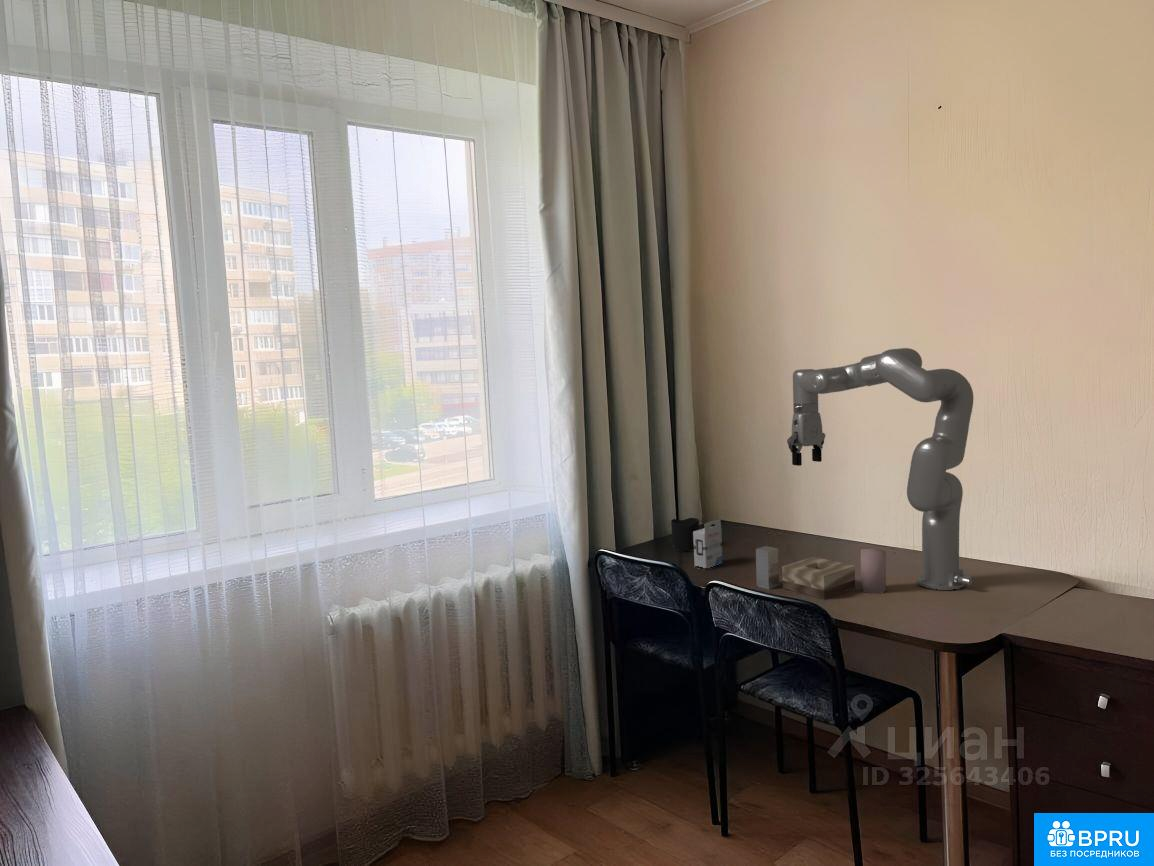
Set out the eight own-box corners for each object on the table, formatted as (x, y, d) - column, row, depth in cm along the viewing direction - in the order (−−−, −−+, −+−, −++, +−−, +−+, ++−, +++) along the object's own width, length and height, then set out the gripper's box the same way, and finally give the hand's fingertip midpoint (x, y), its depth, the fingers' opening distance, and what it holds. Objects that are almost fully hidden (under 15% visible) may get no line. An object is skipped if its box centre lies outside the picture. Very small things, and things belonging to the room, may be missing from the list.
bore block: (855, 588, 236) (854, 565, 236) (824, 599, 228) (823, 576, 227) (813, 578, 247) (813, 556, 247) (782, 588, 239) (782, 566, 238)
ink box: (710, 561, 270) (709, 516, 269) (723, 564, 267) (721, 518, 265) (693, 567, 265) (692, 521, 263) (706, 570, 261) (704, 523, 259)
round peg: (890, 590, 233) (890, 551, 232) (877, 595, 230) (876, 555, 228) (869, 585, 239) (869, 547, 237) (856, 590, 235) (855, 551, 233)
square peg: (778, 586, 242) (778, 548, 240) (768, 589, 239) (767, 551, 238) (766, 583, 245) (765, 546, 244) (756, 586, 242) (755, 548, 241)
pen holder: (680, 544, 294) (679, 516, 293) (704, 547, 289) (703, 518, 288) (667, 550, 287) (666, 522, 285) (691, 554, 281) (690, 524, 280)
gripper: (797, 412, 255) (798, 468, 257) (833, 407, 266) (834, 460, 267) (778, 411, 261) (779, 465, 263) (813, 406, 272) (814, 458, 274)
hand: (807, 463), depth 265 cm, fingers open, 9 cm apart
